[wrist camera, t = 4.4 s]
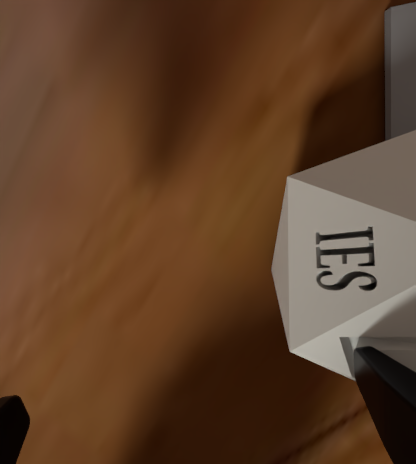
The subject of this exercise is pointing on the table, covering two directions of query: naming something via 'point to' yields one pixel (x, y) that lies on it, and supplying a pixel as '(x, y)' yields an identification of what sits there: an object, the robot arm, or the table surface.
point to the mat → (400, 70)
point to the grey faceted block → (350, 257)
